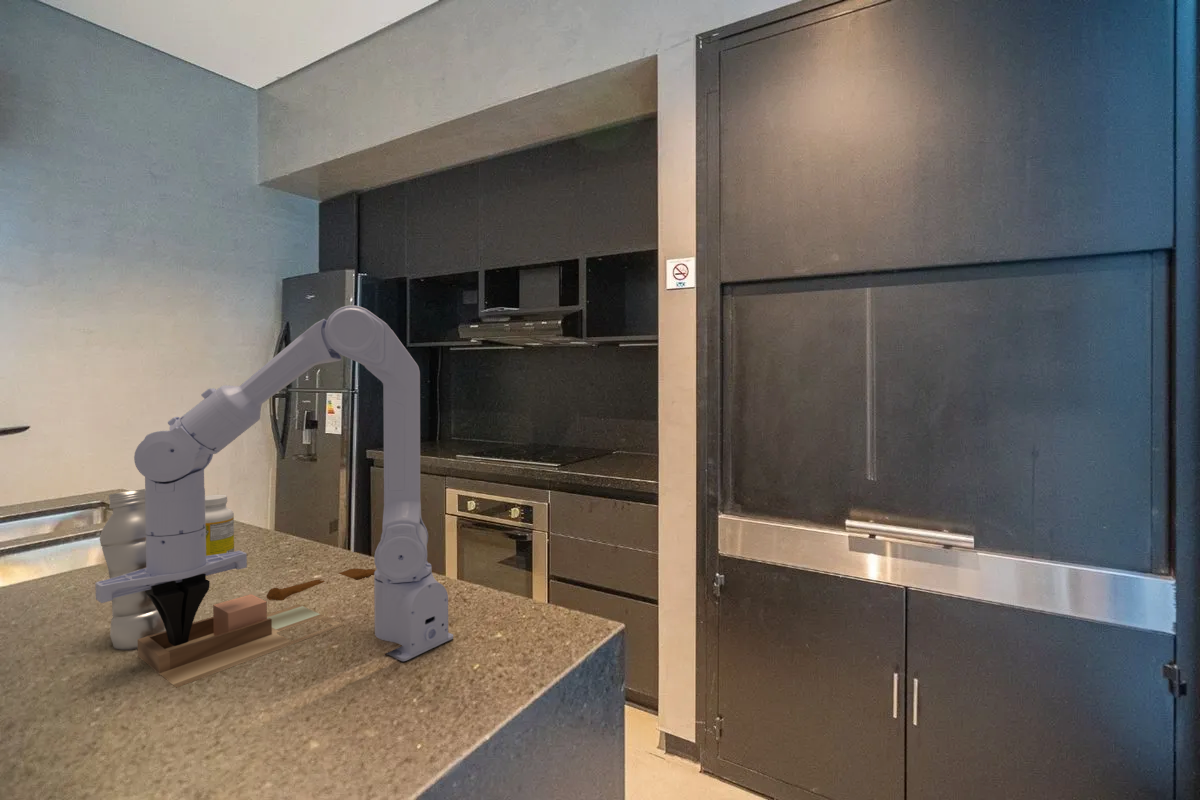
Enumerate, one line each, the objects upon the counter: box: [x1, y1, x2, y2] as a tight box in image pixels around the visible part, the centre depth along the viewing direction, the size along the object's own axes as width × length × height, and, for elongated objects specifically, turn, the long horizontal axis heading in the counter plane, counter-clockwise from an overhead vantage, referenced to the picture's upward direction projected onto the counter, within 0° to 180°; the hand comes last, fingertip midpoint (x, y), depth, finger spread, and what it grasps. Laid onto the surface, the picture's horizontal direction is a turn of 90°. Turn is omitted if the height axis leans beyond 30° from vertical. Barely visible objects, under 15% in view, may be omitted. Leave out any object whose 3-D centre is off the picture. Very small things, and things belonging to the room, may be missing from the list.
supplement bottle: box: [205, 494, 235, 556], centre depth 104 cm, size 7×7×13 cm
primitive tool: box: [266, 567, 377, 601], centre depth 93 cm, size 19×6×4 cm, turn 160°
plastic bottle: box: [99, 488, 166, 651], centre depth 71 cm, size 6×7×20 cm
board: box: [137, 604, 344, 689], centre depth 71 cm, size 12×19×4 cm, turn 145°
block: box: [212, 593, 268, 636], centre depth 73 cm, size 4×4×4 cm
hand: (178, 642), depth 67 cm, fingers closed
